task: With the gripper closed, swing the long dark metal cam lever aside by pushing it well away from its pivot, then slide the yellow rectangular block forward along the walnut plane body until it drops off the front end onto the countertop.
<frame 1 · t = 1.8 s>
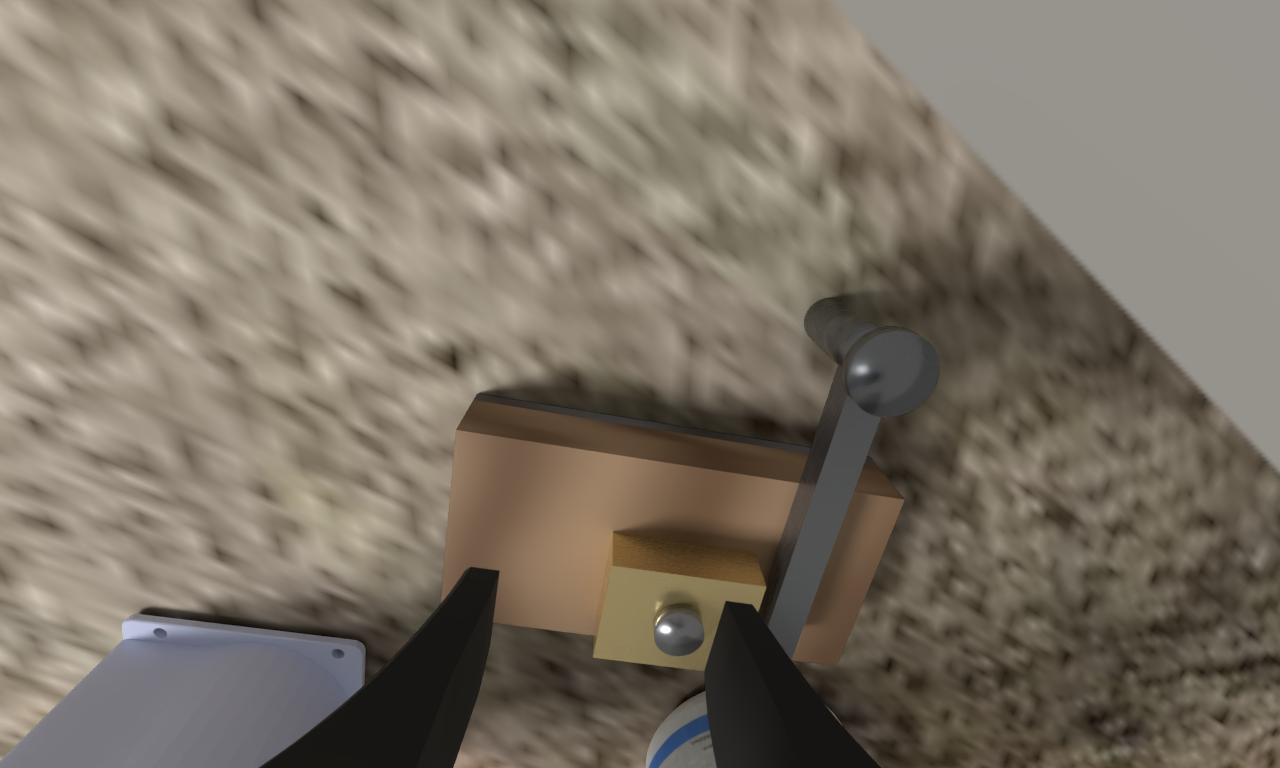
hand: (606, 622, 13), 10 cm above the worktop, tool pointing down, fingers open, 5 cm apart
yellow rectangular block: (673, 585, 21), point 3 cm above the worktop, touching plane body
plane body: (660, 511, 24), on the worktop
supplement tub: (744, 741, 29), on the worktop
cam lever: (809, 481, 20), point 3 cm above the worktop, hinge at 0.0°
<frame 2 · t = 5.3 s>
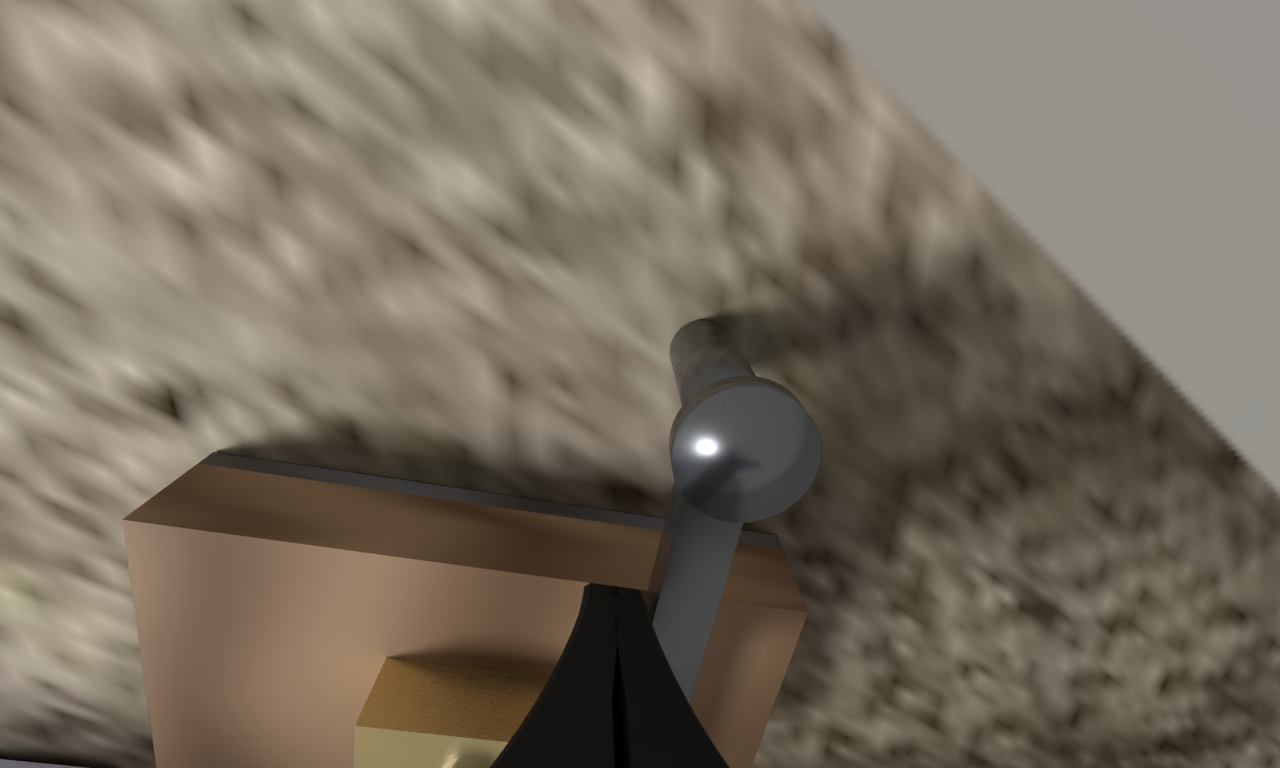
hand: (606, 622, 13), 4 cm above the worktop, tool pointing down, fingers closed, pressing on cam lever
yellow rectangular block: (485, 726, 15), point 3 cm above the worktop, touching plane body
plane body: (493, 605, 17), on the worktop
cam lever: (669, 586, 14), point 3 cm above the worktop, hinge at 0.0°, touching gripper
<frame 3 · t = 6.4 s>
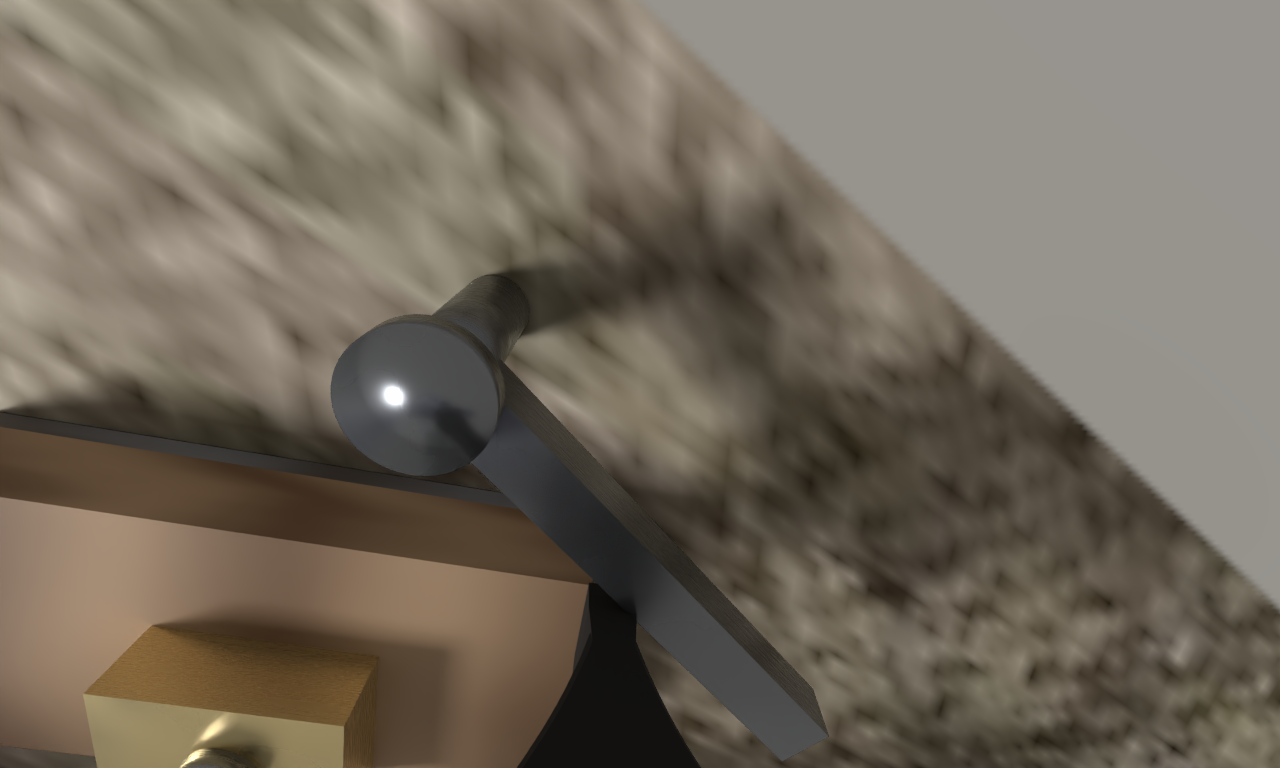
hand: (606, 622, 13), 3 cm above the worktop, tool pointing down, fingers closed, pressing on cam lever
yellow rectangular block: (269, 701, 14), point 3 cm above the worktop, touching plane body
plane body: (310, 578, 17), on the worktop
cam lever: (627, 515, 13), point 3 cm above the worktop, hinge at 50.0°, touching gripper
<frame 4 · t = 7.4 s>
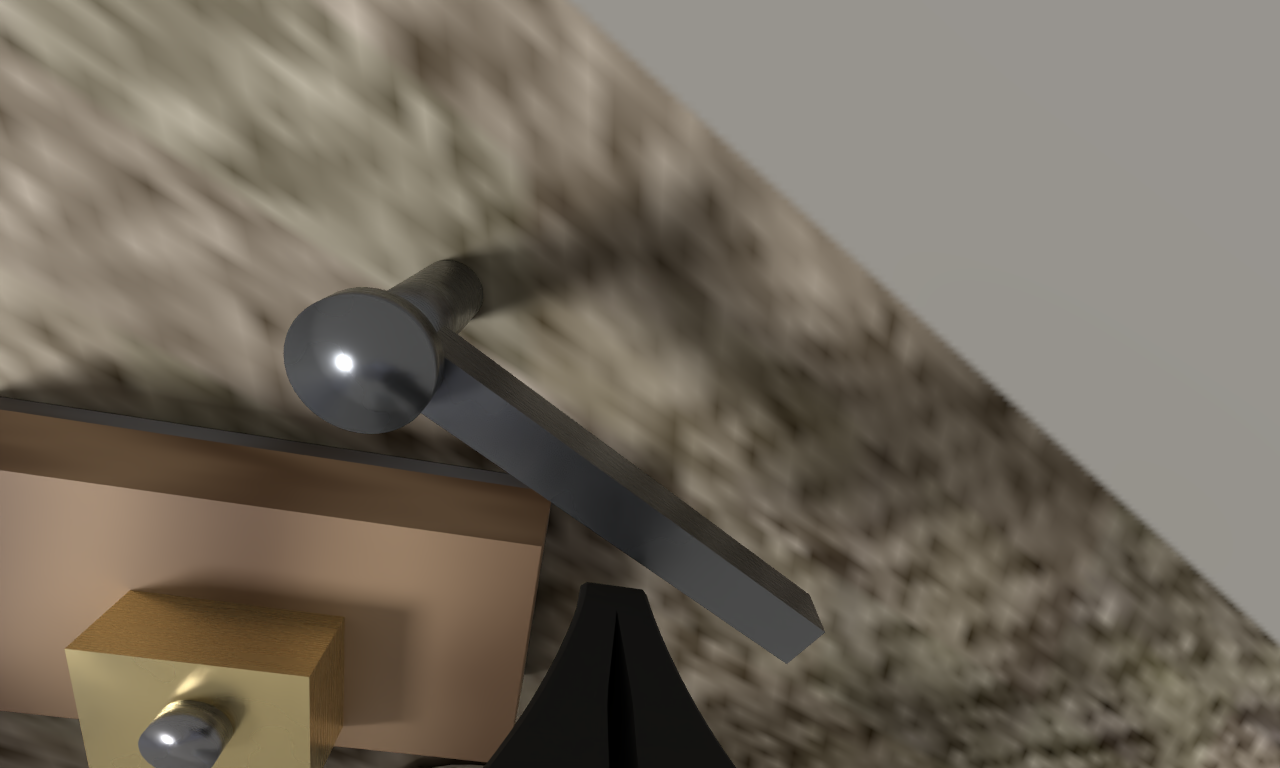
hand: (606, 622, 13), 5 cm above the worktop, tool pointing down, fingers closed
yellow rectangular block: (243, 662, 15), point 3 cm above the worktop, touching plane body
plane body: (284, 551, 18), on the worktop
cam lever: (598, 456, 14), point 3 cm above the worktop, hinge at 60.2°
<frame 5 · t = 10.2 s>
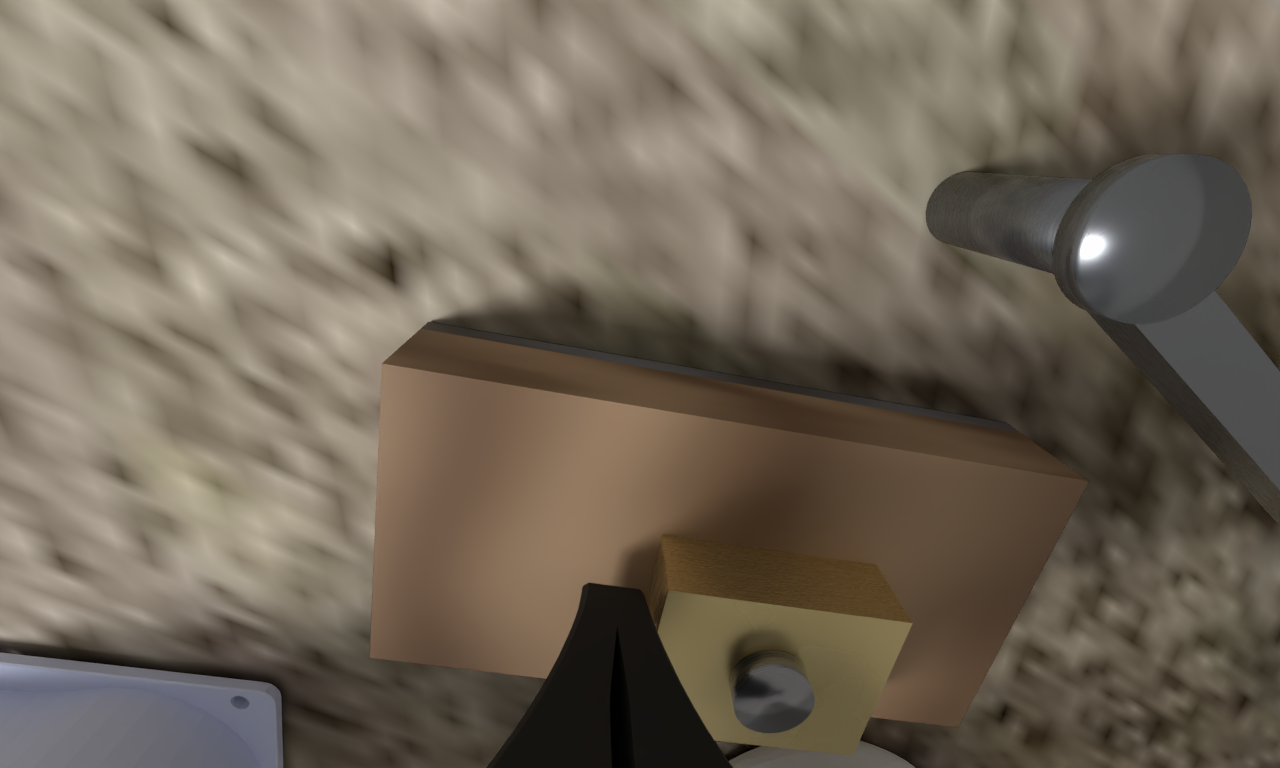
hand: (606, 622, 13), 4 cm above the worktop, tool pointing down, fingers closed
yellow rectangular block: (749, 615, 14), point 3 cm above the worktop, touching gripper, plane body
plane body: (697, 500, 16), on the worktop
cam lever: (1177, 379, 12), point 3 cm above the worktop, hinge at 60.5°
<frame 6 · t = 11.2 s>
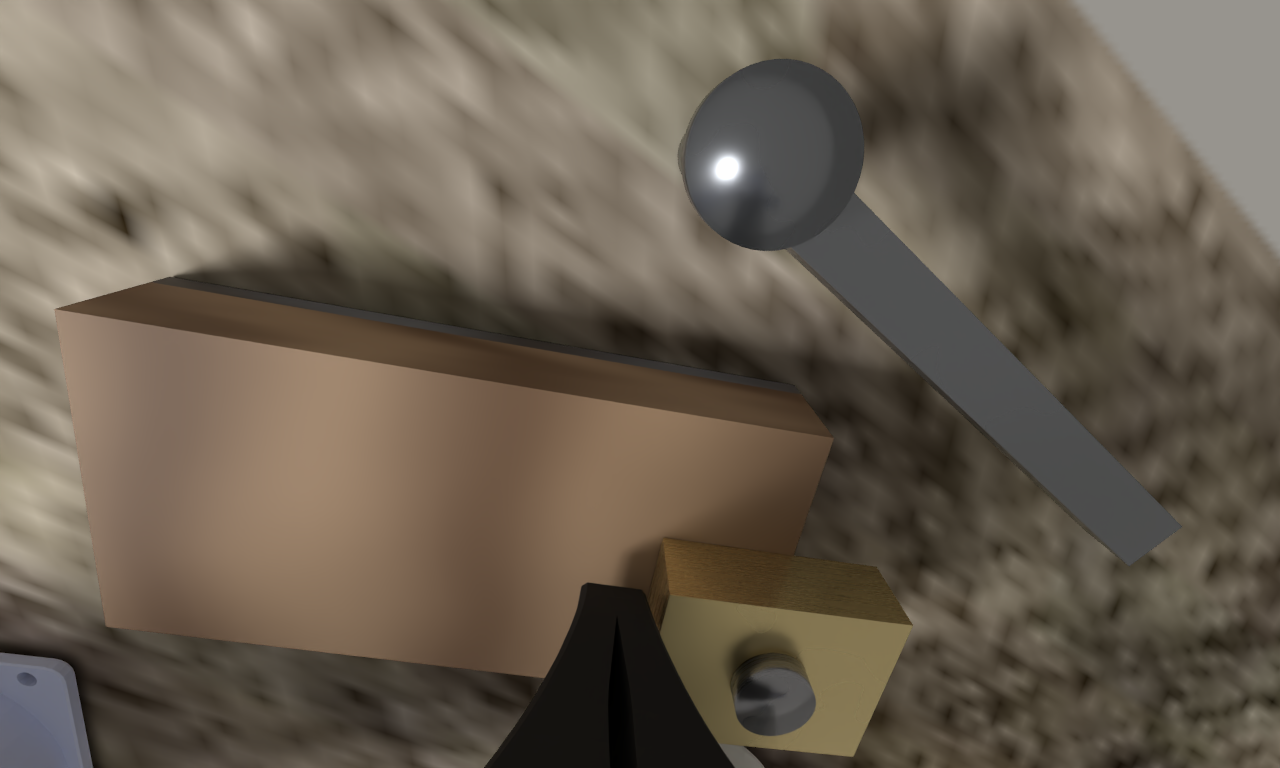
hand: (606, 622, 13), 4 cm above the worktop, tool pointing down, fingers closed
yellow rectangular block: (750, 618, 14), point 3 cm above the worktop, touching gripper, plane body
plane body: (483, 468, 16), on the worktop
cam lever: (914, 329, 12), point 3 cm above the worktop, hinge at 60.5°
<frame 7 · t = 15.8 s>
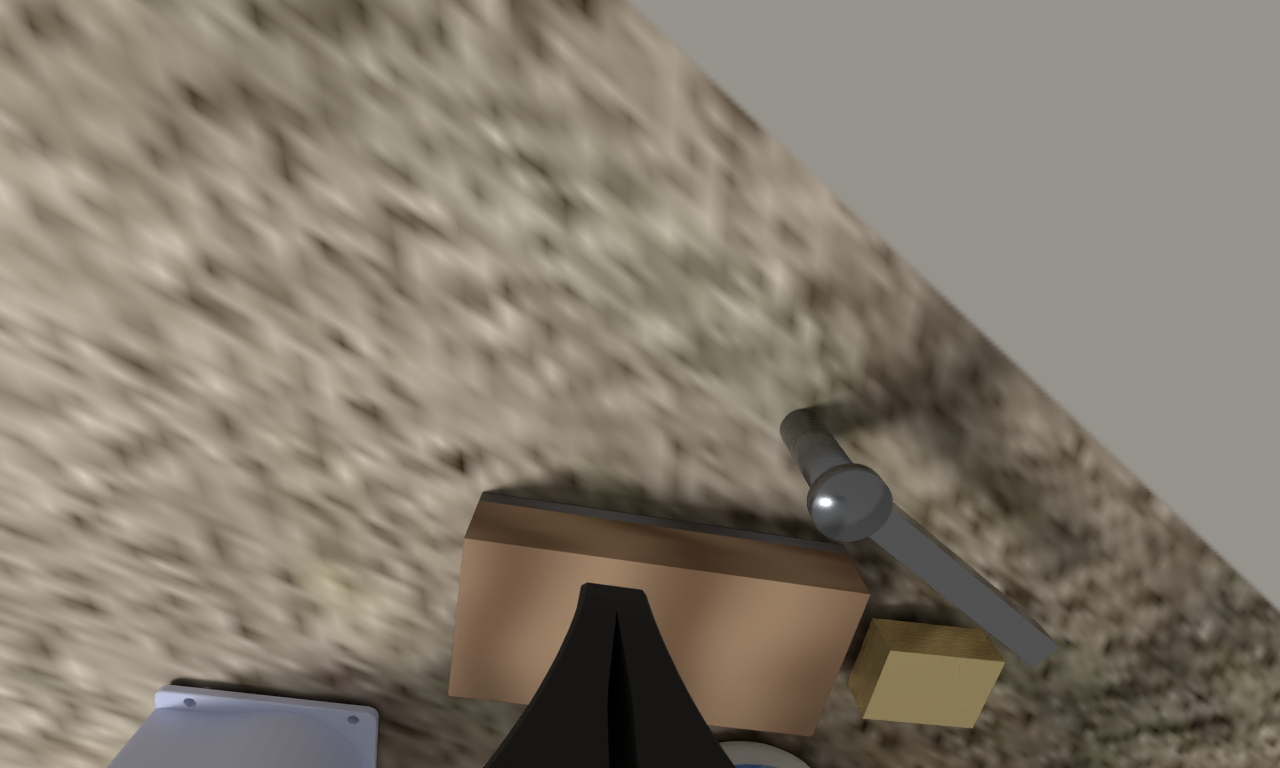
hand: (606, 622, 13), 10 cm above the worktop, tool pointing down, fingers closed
yellow rectangular block: (932, 690, 25), point 2 cm above the worktop, tilted 180°
plane body: (650, 592, 26), on the worktop
cam lever: (915, 538, 22), point 3 cm above the worktop, hinge at 60.5°
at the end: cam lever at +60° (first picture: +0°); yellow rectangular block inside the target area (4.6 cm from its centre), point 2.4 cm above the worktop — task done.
